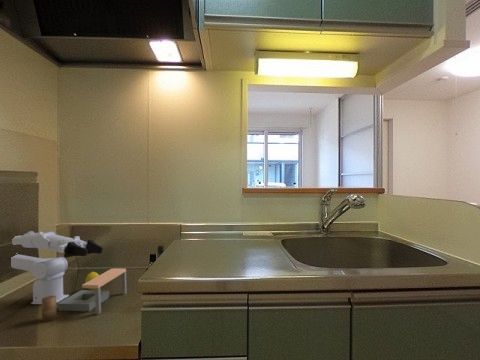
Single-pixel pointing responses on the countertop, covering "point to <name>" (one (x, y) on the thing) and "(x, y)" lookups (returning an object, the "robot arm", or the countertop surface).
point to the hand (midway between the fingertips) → (94, 251)
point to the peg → (49, 309)
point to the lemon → (90, 277)
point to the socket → (81, 301)
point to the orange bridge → (103, 280)
